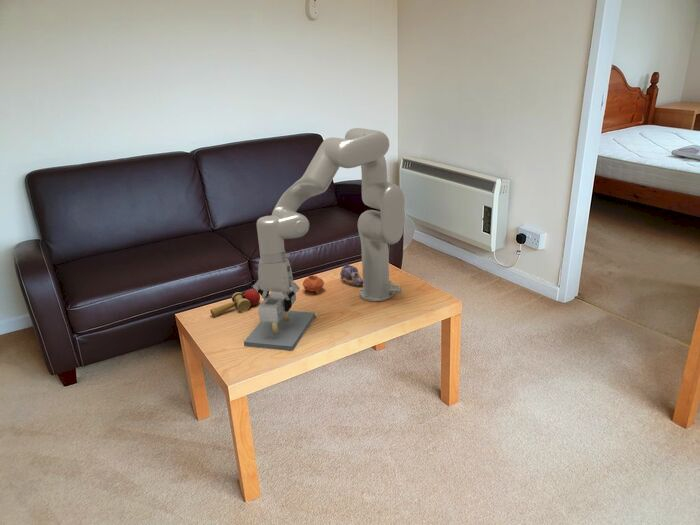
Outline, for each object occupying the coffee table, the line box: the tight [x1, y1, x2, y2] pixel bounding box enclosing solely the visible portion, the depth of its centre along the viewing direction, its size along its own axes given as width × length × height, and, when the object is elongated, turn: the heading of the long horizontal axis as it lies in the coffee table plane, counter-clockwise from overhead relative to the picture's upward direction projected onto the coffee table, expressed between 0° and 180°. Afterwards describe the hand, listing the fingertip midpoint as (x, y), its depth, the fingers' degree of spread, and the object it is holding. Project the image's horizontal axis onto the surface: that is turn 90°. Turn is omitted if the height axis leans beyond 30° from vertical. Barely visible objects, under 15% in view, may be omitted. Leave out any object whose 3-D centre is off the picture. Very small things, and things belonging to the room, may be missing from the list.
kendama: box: [210, 288, 261, 318], centre depth 183 cm, size 8×6×18 cm
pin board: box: [243, 310, 316, 352], centre depth 168 cm, size 16×22×5 cm
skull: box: [339, 264, 363, 288], centre depth 200 cm, size 12×8×6 cm, turn 25°
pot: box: [302, 274, 325, 295], centre depth 194 cm, size 8×8×7 cm
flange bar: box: [257, 287, 297, 323], centre depth 165 cm, size 16×6×5 cm, turn 165°
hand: (278, 308), depth 165 cm, fingers closed on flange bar, 6 cm apart
